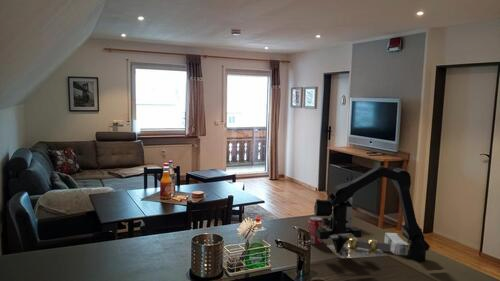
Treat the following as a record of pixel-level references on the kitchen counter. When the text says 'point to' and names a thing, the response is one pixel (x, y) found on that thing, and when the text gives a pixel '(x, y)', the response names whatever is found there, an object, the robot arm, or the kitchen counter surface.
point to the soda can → (314, 228)
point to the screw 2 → (378, 245)
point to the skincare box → (349, 213)
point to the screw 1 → (343, 250)
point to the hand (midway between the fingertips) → (337, 252)
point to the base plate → (358, 252)
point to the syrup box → (396, 244)
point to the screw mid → (358, 243)
